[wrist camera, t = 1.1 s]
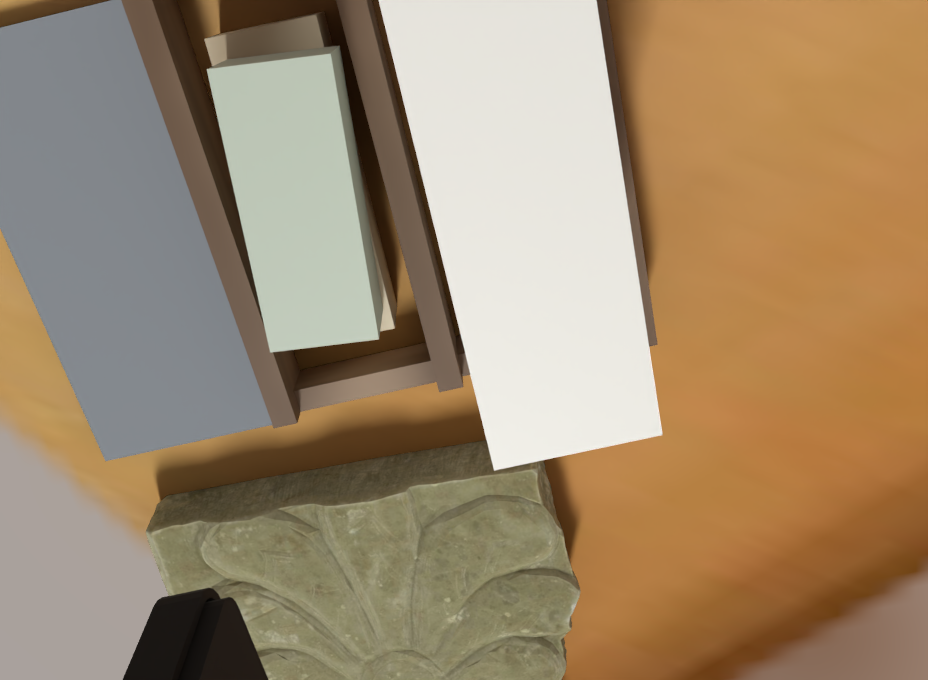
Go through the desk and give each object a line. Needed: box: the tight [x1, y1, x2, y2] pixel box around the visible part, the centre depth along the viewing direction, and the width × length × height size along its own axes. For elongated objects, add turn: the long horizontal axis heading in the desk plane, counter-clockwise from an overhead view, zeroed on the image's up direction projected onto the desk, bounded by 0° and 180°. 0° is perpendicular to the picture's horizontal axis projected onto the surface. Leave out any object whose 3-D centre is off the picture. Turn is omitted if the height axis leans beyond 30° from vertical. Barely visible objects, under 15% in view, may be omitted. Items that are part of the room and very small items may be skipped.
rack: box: [121, 0, 657, 428], centre depth 33 cm, size 16×18×3 cm
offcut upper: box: [207, 45, 383, 353], centre depth 31 cm, size 4×10×3 cm, turn 7°
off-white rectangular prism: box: [379, 0, 662, 471], centre depth 29 cm, size 5×14×13 cm, turn 13°
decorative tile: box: [146, 440, 580, 680], centre depth 43 cm, size 19×20×4 cm
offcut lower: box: [204, 11, 397, 331], centre depth 34 cm, size 4×12×3 cm, turn 11°
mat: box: [0, 0, 272, 461], centre depth 36 cm, size 8×18×1 cm, turn 13°
